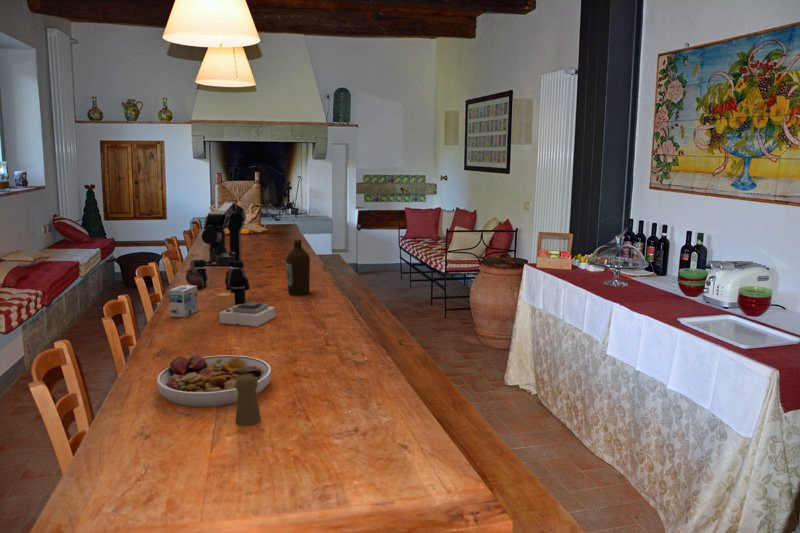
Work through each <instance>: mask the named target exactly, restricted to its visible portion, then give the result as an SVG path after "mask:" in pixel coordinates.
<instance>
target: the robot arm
mask: <svg viewBox="0 0 800 533" xmlns="http://www.w3.org/2000/svg"><path fill="white" fill-rule="evenodd" d="M246 219H247V214H246V212H245V209H244V208H243V207H241V206H240V205H238V203H237V202H235V201H225V202H223V203H222V205H221V206H220V207H219V208H218V209H216V210H213V211H209V212H208V213H207V215H206V217H205V220H204V225H203V231H202V233H201V241H203V243H204V244H207V245H209V248H208V252H209V258H208V261H206V260H204V259H192V260H190V262H189V268H195V269H194V270H196V271H197V273H198V274H199V276H200V279H201V281H202V284H203V285H202V286H203V288H207V281H206V275H205V272H206V273H207V268H205V267H222V268H223V267H226V268H227V267H229V268H228V269H227V271H226V276H225V279H224V280H225V289H226V291H230V293H234V294H235V305H238V304H244V303H247V302H250V301H249V300H246V291H249V290H250V282H249V279H248V277H247V274H246V273H247V272H246V270H245V269H244V268H245V264H244V261H243V260H242V230H243V229H244V226H245V222H246ZM227 229H228V231H229V251H227V248H226V231H225V230H227Z"/></svg>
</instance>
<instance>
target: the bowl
mask: <svg viewBox="0 0 800 533" xmlns="http://www.w3.org/2000/svg"><path fill="white" fill-rule="evenodd" d="M242 376H253V377H255V378H256V379H257V382H258V385H257V388H256V395H258V394H260V393H261V392H262V391H263V390H265V388H267V386H268V384H269V383H270V381H271V378H272V367H271V365H270V364H269V363H268V362H267V361H264V360H263V359H260V358H256V357H252V356H245V355H233V354H231V355H229V354H227V355H211V356H203V357H202V356H201V355H199V354H197V355H193V356H190V357H189V359H188V358H186V357H185V356H178V357H176V358H174V359H172V361H170V363H169V367H166V368H165V369H164V370H162V371H161V372H160V373H159V374H158V376H156V385H157V388H158V390H159V392H160V394H161V395H162V396H163V397H164V398H165V399H167V400H168V401H170V402H172V403H174V404H178V405H181V406H187V407H197V408H200V407H201V408H208V407H209V408H211V407H220V406H225V405H226V406H227V405H231V404H232V405H233V404H237V399H238V391H237V389H236V386H235V384H236V380H237V379H238V378H239V377H242Z"/></svg>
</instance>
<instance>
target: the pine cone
mask: <svg viewBox="0 0 800 533" xmlns="http://www.w3.org/2000/svg"><path fill="white" fill-rule="evenodd" d="M194 269H195V268H190V267H189V268H188V269H187V271H186V274H185V279H186V280H185V281H186V283H187V284H189V285H192V286H197V287H202V286H203V284H202V281H201V279H200V276H199V274H198V273H197V271H196V270H194ZM205 275H206V282H207V281H208V278H209V277H208V273H207V271H206V272H205Z"/></svg>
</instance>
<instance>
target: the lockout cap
mask: <svg viewBox="0 0 800 533" xmlns="http://www.w3.org/2000/svg"><path fill="white" fill-rule="evenodd" d="M233 306H235V294H234V293H231V292H221V293H219V294H216V312H217V316H219V312H222V311H224V310H226V309H229V308H231V307H233Z"/></svg>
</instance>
